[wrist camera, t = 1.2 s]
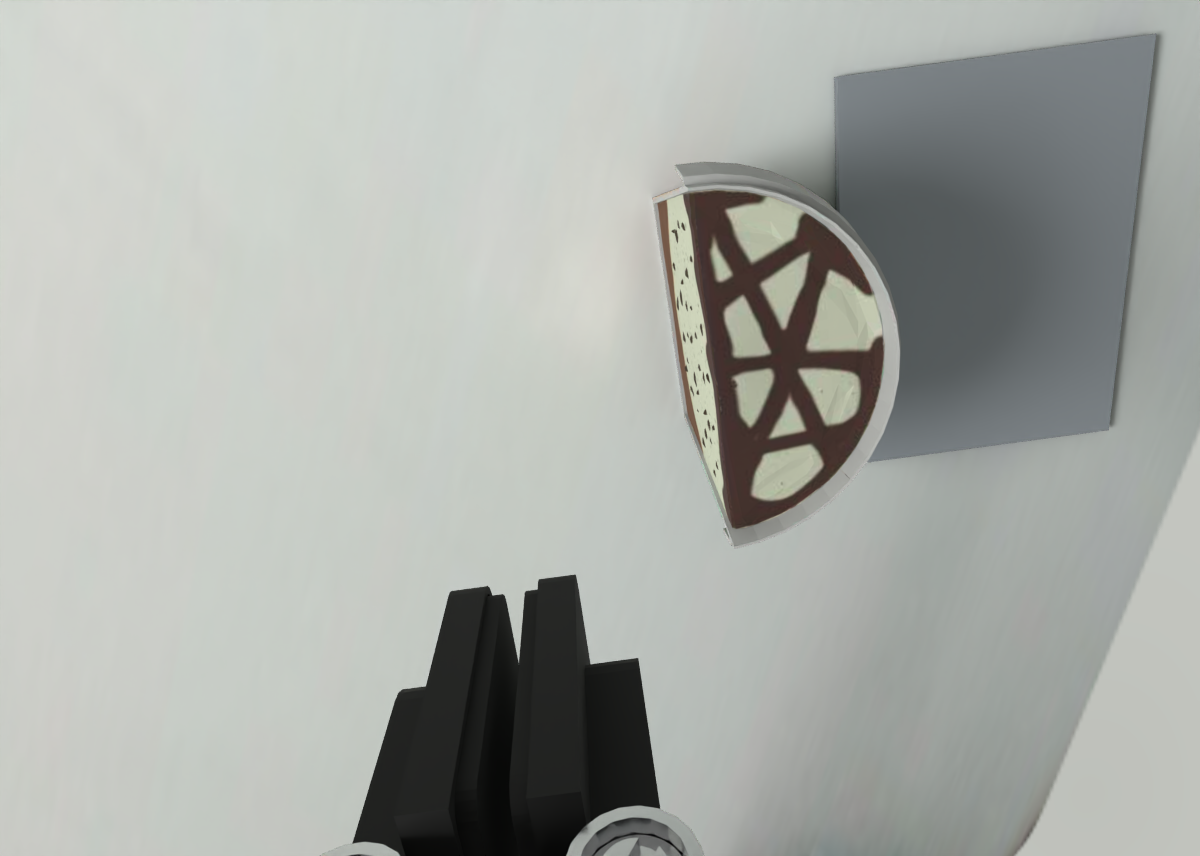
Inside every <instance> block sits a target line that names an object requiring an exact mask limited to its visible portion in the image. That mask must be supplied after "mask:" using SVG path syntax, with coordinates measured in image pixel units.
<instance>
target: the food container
mask: <svg viewBox="0 0 1200 856" xmlns="http://www.w3.org/2000/svg"><path fill="white" fill-rule="evenodd" d="M675 170H676V172H677V174H678V175H679V177H680V178H681V180H682V181H683V187H680V188H677V189H675V190H672V191H670V192H667V193H664V194H662V195H659V196H656V197H654V198H653V205H654V212H655V219H656V225H657V232H658V239H659V246H660V253H661V260H662V267H663V274H664V280H665V287H666V294H667V301H668V308H669V315H670V322H671V329H672V335H673V342H674V349H675V356H676V363H677V370H678V377H679V383H680V390H681V397H682V404H683V411H684V417H685V420H686V422H687V425H688V428H689V430H690V433H691V436H692V438H693V441H694V444H695V446H696V449H697V452H698V454H699V457H700V460H701V462H702V465H703V468H704V470H705V473H706V476H707V478H708V481H709V484H710V486H711V489H712V492H713V494H714V497H715V500H716V502H717V505H718V508H719V510H720V513H721V516H722V518H723V521H724V524H725V526H726V528H724V529H723V530H724V534H725V536H726V538H727V539H728V541H729V543H730V545H731V546H733V547H734V549H736V548H740V547H744V546H748V545H752V544H756V543H760V542H762V541H765V540H767V539H770V538H772V537H775V536H777V535H780V534H782V533H785V532H787V531H788V530H790V529H792V528H794V527H796V526H797V525H799V524H801V523H803V522H804V521H806V520H808V519H810V518H811V517H812V516H814V515H815V514H816V513H818V512H819V511H820V510H822V509H823V508H824V507H826V506H827V505H828V504H830V503H831V502H832V501H833V500H834V499H835V498H836V497H837V496H838V495H839V494H840V493H841V492H842V491H843V490H844V489H845V488H846V487H847V486H848V485H849V484H850V483H851V482H852V481H853V480H854V479H855V477H856V476H857V475H858V473H859V472H860V471H861V469H862V468H863V467H864V465H865V464H866V463H867V461H868V460H869V459H870V457H871V455H872V453H873V451H874V449H875V448H876V446H877V444H878V442H879V440H880V439H881V437H882V435H883V433H884V430H885V427H886V425H887V422H888V419H889V417H890V414H891V411H892V409H893V405H894V400H895V395H896V390H897V386H898V381H899V371H900V350H901V341H900V332H899V324H898V315H897V311H896V308H895V304H894V301H893V298H892V294H891V291H890V287H889V285H888V283H887V281H886V279H885V277H884V275H883V273H882V271H881V268H880V266H879V264H878V262H877V260H876V259H875V257H874V256H873V254H872V253H871V252H870V250H869V249H868V248H867V246H866V245H865V244H864V242H863V241H862V239H861V238H860V237H859V235H858V234H857V233H856V231H855V230H854V229H853V227H852V226H851V225H850V224H849V222H848V221H847V220H846V219H845V218H844V217H843V216H842V215H840V214H839V213H838V212H837V211H836V210H835V209H834V208H833V207H832V206H831V205H830V204H829V203H828V202H827V201H825V200H824V199H822V198H821V197H819V196H818V195H816V194H815V193H813V192H811V191H810V190H808V189H807V188H805V187H804V186H802V185H801V184H799V183H797V182H794V181H792V180H790V179H787V178H785V177H782V176H780V175H778V174H775V173H773V172H771V171H767V170H763V169H758V168H754V167H750V166H745V165H741V164H733V163H716V162H699V163H689V164H679V165H675Z"/></svg>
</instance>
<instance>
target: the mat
mask: <svg viewBox="0 0 1200 856" xmlns="http://www.w3.org/2000/svg"><path fill="white" fill-rule="evenodd" d="M1155 41H1156V34H1150V35H1143V36H1135V37H1128V38H1121V39H1113V40H1106V41H1098V42H1091V43H1084V44H1076V45H1069V46H1061V47H1054V48H1046V49H1039V50H1032V51H1024V52H1017V53H1009V54H1002V55H994V56H987V57H980V58H972V59H965V60H957V61H950V62H942V63H935V64H928V65H920V66H913V67H905V68H898V69H891V70H883V71H876V72H868V73H861V74H853V75H846V76H839V77H834V88H835V156H836V211H837V212H838V213H839V214H840V215H842V216H843V217H844V218H845V219H846V220H847V221H848V222H849V224H850V225H851V226H852V227H853V229H854V230H855V231H856V233H857V234H858V235H859V237H860V238H861V239H862V241H863V242H864V244H865V245H866V246H867V248H868V249H869V250H870V252H871V253H872V254H873V256H874V257H875V259H876V260H877V262H878V264H879V266H880V268H881V271H882V273H883V275H884V277H885V279H886V281H887V283H888V285H889V287H890V291H891V294H892V298H893V301H894V304H895V308H896V311H897V315H898V324H899V332H900V341H901V350H900V371H899V381H898V386H897V390H896V395H895V400H894V405H893V409H892V411H891V414H890V417H889V419H888V422H887V425H886V427H885V430H884V433H883V435H882V437H881V439H880V440H879V442H878V444H877V446H876V448H875V449H874V451H873V453H872V455H871V457H870V459H869V460H868V461H867V462H874V461H881V460H889V459H896V458H904V457H911V456H919V455H926V454H934V453H941V452H949V451H956V450H963V449H971V448H978V447H986V446H993V445H1001V444H1008V443H1016V442H1023V441H1031V440H1038V439H1046V438H1053V437H1061V436H1068V435H1075V434H1083V433H1090V432H1098V431H1105V430H1109V424H1110V416H1111V407H1112V399H1113V391H1114V382H1115V374H1116V366H1117V357H1118V349H1119V341H1120V332H1121V324H1122V316H1123V307H1124V299H1125V291H1126V282H1127V274H1128V266H1129V257H1130V249H1131V241H1132V232H1133V224H1134V216H1135V207H1136V199H1137V191H1138V182H1139V174H1140V166H1141V157H1142V149H1143V141H1144V132H1145V124H1146V116H1147V107H1148V99H1149V91H1150V82H1151V74H1152V66H1153V57H1154V49H1155Z"/></svg>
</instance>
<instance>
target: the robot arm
mask: <svg viewBox="0 0 1200 856" xmlns="http://www.w3.org/2000/svg"><path fill="white" fill-rule="evenodd" d="M320 856H705V855H704V853H703V850H702V847H701V845H700V843H699V842H698V840H697V838H696V836H695V835H694V833H693V831H692V829H690V828H689V827H688V826H687V825H686V824H685V823H684V822H683V821H681V820H680V819H679V818H678V817H677V816H675V815H672V814H670V813H668V812H666V811H663V810H661V809H660V804H659V798H658V791H657V784H656V777H655V770H654V763H653V756H652V750H651V743H650V736H649V729H648V722H647V715H646V708H645V702H644V695H643V688H642V681H641V674H640V667H639V661H638V658H635V659H628V660H620V661H613V662H605V663H598V664H590V659H589V653H588V646H587V640H586V634H585V627H584V621H583V615H582V608H581V602H580V596H579V589H578V583H577V578H576V575H569V576H561V577H554V578H546V579H539V581H538V590H531V591H526V592H525V598H524V610H523V623H522V635H521V647H520V659H519V663H518V658H517V653H516V648H515V643H514V638H513V633H512V628H511V623H510V618H509V613H508V608H507V603H506V599H505V596H504V595H503V594H501V595H494V596H492V593H491V590H490V588H489V587H488V586H486V587H479V588H472V589H464V590H457V591H451V592H450V594H449V597H448V601H447V605H446V609H445V613H444V617H443V621H442V625H441V629H440V633H439V637H438V641H437V645H436V649H435V653H434V657H433V661H432V665H431V669H430V673H429V677H428V681H427V685H426V687H418V688H411V689H403V690H401V691H400V692H399V693H398V695H397V698H396V700H395V703H394V706H393V710H392V713H391V716H390V720H389V723H388V726H387V730H386V733H385V737H384V740H383V743H382V747H381V750H380V753H379V757H378V760H377V763H376V767H375V770H374V773H373V777H372V780H371V783H370V787H369V790H368V793H367V797H366V800H365V803H364V807H363V810H362V814H361V817H360V820H359V824H358V827H357V830H356V834H355V837H354V840H353V844H347V845H343V846H341V847H338V848H336V849H333V850H331V851H328V852H325V853H323V854H322V855H320Z"/></svg>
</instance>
